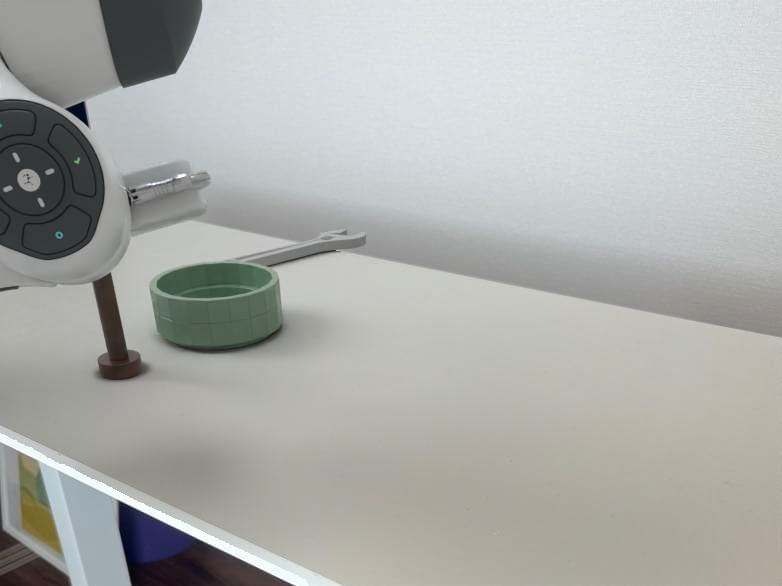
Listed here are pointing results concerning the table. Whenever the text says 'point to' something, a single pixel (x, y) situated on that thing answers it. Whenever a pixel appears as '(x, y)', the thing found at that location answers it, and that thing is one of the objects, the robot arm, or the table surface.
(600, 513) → the table surface
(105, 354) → the muddler
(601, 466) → the table surface
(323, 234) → the adjustable wrench
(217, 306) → the bowl
